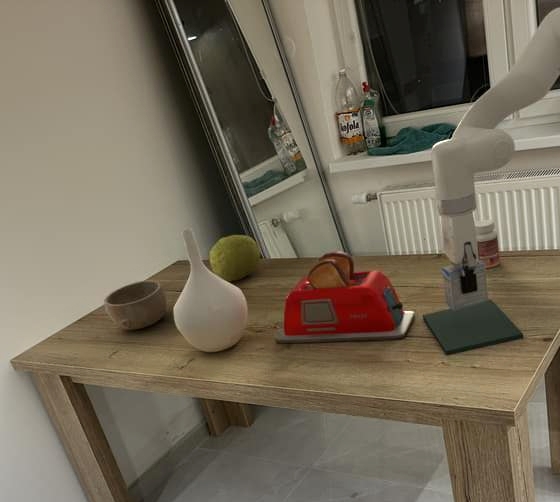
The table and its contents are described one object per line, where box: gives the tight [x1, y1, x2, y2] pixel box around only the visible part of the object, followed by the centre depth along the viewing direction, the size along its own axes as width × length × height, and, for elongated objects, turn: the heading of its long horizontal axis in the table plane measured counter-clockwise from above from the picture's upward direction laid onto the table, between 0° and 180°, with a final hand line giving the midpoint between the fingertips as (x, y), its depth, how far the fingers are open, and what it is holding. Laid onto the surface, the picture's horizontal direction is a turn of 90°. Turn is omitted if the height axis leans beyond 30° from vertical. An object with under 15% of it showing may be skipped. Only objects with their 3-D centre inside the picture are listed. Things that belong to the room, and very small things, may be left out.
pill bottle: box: [474, 219, 501, 269], centre depth 176 cm, size 6×6×11 cm
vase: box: [173, 228, 249, 353], centre depth 166 cm, size 18×18×30 cm
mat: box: [422, 299, 524, 356], centre depth 148 cm, size 16×20×1 cm
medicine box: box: [441, 259, 489, 310], centre depth 144 cm, size 8×4×9 cm, turn 99°
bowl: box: [103, 280, 167, 331], centre depth 196 cm, size 17×18×10 cm
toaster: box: [274, 251, 416, 344], centre depth 158 cm, size 32×13×19 cm, turn 68°
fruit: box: [209, 234, 261, 283], centre depth 213 cm, size 16×14×15 cm
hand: (465, 286), depth 144 cm, fingers closed on medicine box, 4 cm apart
